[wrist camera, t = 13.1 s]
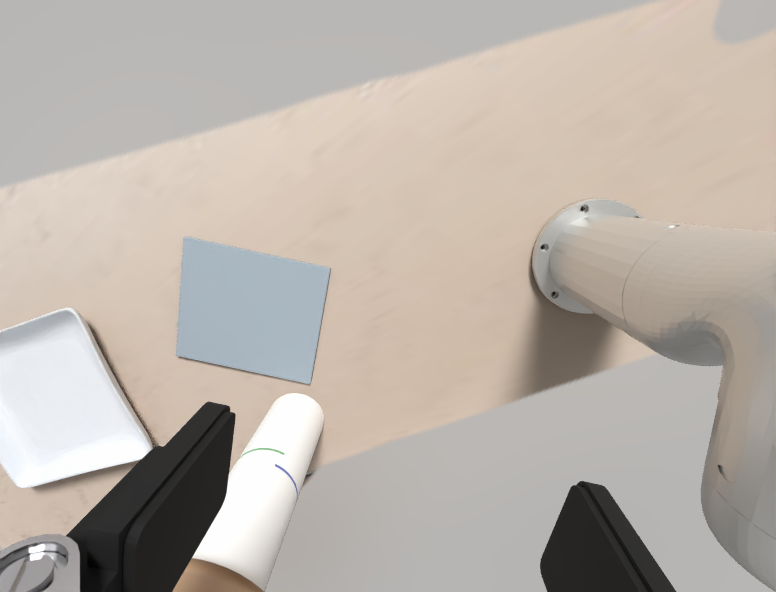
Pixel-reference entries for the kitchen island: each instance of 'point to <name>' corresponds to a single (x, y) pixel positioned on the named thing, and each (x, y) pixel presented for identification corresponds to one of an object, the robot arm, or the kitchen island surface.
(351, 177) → the kitchen island surface
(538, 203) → the kitchen island surface
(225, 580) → the lid
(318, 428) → the cylindrical container
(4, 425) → the salad plate
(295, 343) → the mat
